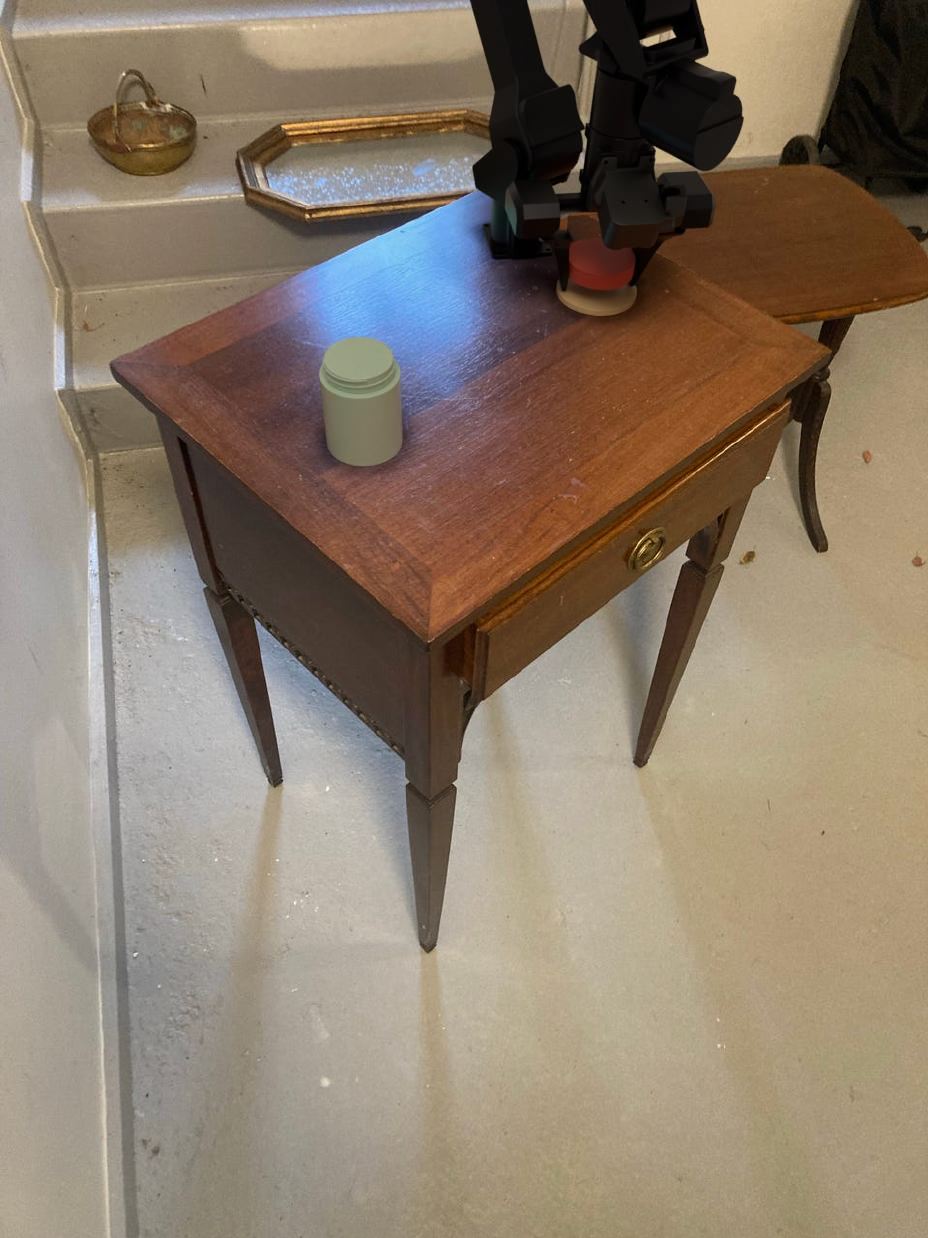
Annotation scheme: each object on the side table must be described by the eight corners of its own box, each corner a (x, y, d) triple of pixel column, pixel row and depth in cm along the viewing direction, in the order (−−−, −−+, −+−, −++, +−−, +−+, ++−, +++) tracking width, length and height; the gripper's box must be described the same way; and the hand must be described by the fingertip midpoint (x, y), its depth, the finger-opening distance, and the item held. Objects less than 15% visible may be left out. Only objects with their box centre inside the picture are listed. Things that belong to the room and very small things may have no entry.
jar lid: (597, 244, 95) (599, 229, 93) (647, 273, 92) (650, 258, 90) (550, 268, 92) (552, 252, 90) (600, 298, 89) (602, 282, 87)
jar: (324, 419, 80) (314, 335, 74) (398, 413, 81) (395, 329, 74) (329, 470, 76) (319, 386, 70) (407, 463, 77) (405, 379, 70)
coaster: (548, 273, 95) (549, 267, 95) (623, 268, 96) (624, 263, 96) (566, 318, 90) (566, 313, 90) (645, 313, 91) (646, 307, 91)
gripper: (536, 175, 74) (521, 341, 87) (757, 163, 77) (712, 327, 89) (509, 113, 81) (499, 275, 94) (713, 104, 84) (677, 263, 96)
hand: (596, 286), depth 93 cm, fingers closed on jar lid, 7 cm apart
